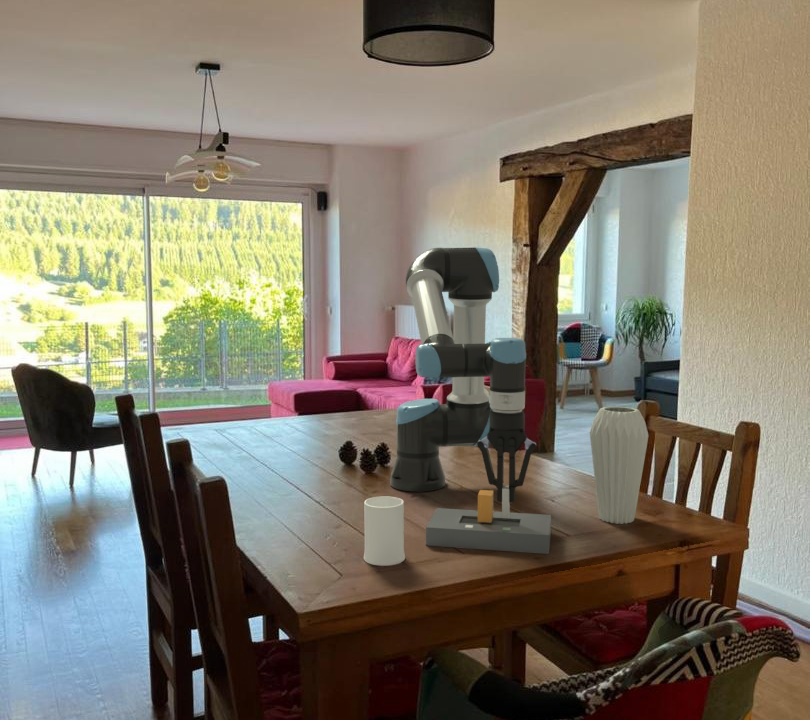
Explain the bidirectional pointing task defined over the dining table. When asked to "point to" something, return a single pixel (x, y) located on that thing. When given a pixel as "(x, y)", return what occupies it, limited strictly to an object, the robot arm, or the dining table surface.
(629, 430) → the vase
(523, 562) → the dining table surface
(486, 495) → the toggle
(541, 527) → the panel
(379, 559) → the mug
